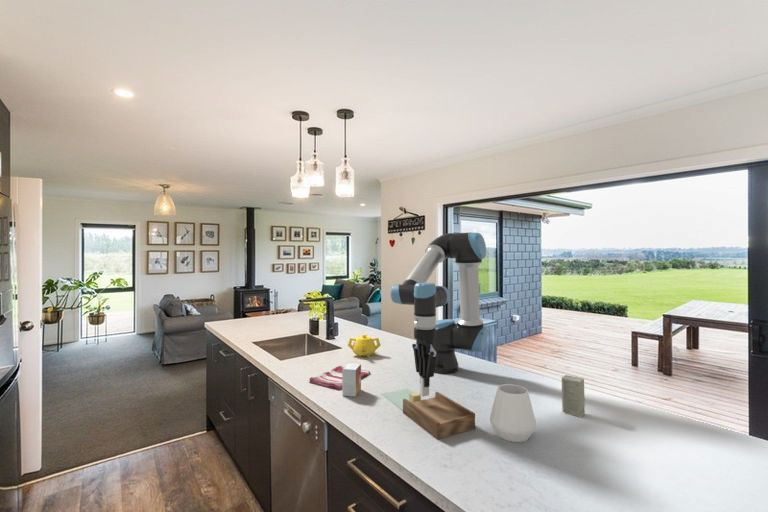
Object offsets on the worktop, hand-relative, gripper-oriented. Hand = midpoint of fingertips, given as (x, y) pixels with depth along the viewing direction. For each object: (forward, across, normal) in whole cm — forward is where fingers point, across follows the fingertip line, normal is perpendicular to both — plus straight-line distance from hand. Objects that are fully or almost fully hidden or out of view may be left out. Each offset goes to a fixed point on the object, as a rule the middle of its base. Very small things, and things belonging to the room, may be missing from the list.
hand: (424, 395), depth 125 cm
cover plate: (+7, -12, 0) cm, 14 cm away
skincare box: (+6, +24, +45) cm, 52 cm away
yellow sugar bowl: (+6, -74, +10) cm, 75 cm away
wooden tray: (+6, +7, 0) cm, 9 cm away
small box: (+6, -28, -16) cm, 33 cm away
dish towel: (+7, -46, -14) cm, 48 cm away
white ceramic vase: (+6, +25, +15) cm, 30 cm away
